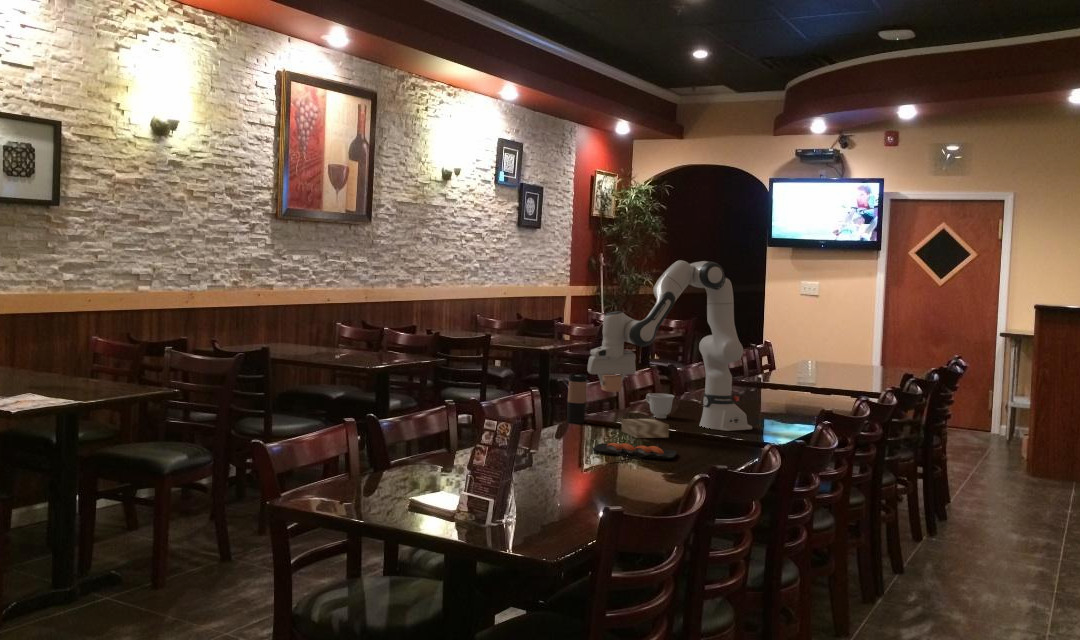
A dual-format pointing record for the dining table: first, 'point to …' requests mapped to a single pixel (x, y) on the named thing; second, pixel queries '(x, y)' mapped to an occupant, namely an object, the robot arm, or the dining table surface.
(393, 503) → the dining table surface
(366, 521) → the dining table surface
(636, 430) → the birch plinth
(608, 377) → the terracotta cube
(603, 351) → the robot arm
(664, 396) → the teacup
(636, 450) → the sushi plate
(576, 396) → the travel mug
